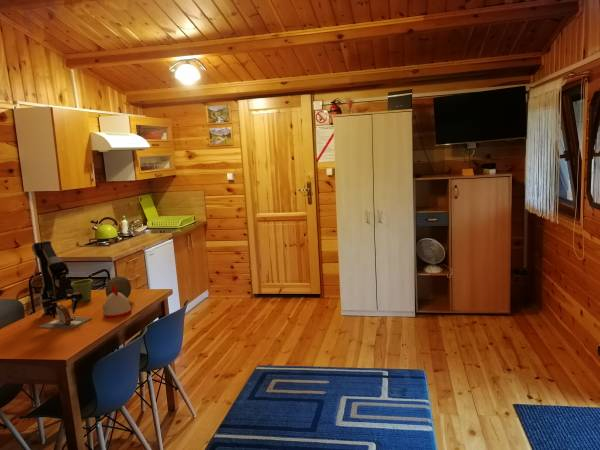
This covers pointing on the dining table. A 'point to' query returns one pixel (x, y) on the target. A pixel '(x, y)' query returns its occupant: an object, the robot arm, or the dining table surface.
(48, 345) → the dining table surface
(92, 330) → the dining table surface
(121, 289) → the cantaloupe
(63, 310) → the tin
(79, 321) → the mat
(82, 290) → the plant pot
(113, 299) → the kitchen timer
